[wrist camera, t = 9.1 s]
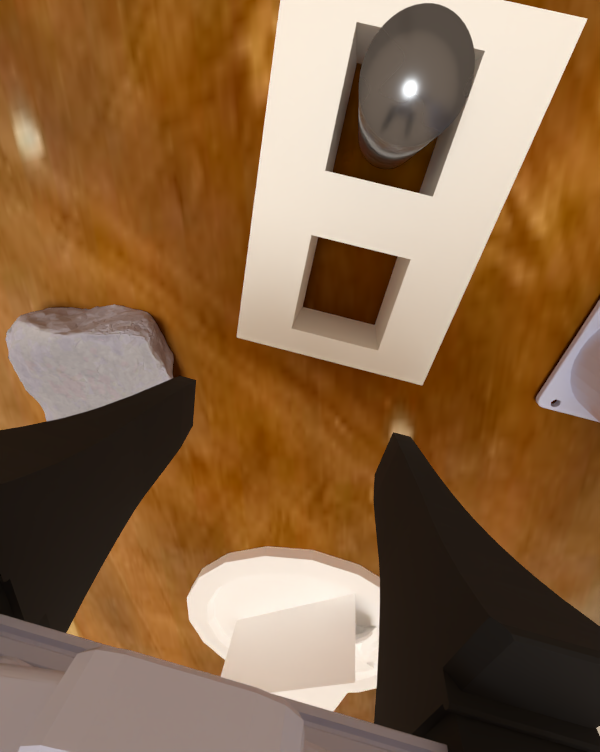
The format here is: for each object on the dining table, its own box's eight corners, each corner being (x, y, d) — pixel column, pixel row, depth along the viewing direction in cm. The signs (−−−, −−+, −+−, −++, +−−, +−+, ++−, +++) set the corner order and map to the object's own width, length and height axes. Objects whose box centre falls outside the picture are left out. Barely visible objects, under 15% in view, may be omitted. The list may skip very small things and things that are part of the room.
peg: (433, 102, 16) (497, 20, 8) (407, 176, 17) (443, 159, 10) (370, 84, 16) (381, -13, 9) (350, 159, 17) (344, 130, 10)
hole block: (531, 63, 14) (587, 18, 11) (411, 354, 21) (422, 385, 18) (303, 11, 15) (286, -48, 11) (256, 314, 21) (236, 337, 18)
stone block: (173, 296, 24) (27, 302, 23) (151, 319, 20) (-28, 327, 19) (202, 430, 30) (85, 437, 29) (189, 470, 25) (52, 479, 25)
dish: (323, 698, 45) (314, 840, 35) (157, 610, 41) (93, 742, 31) (474, 633, 34) (524, 814, 24) (266, 503, 30) (220, 655, 20)
